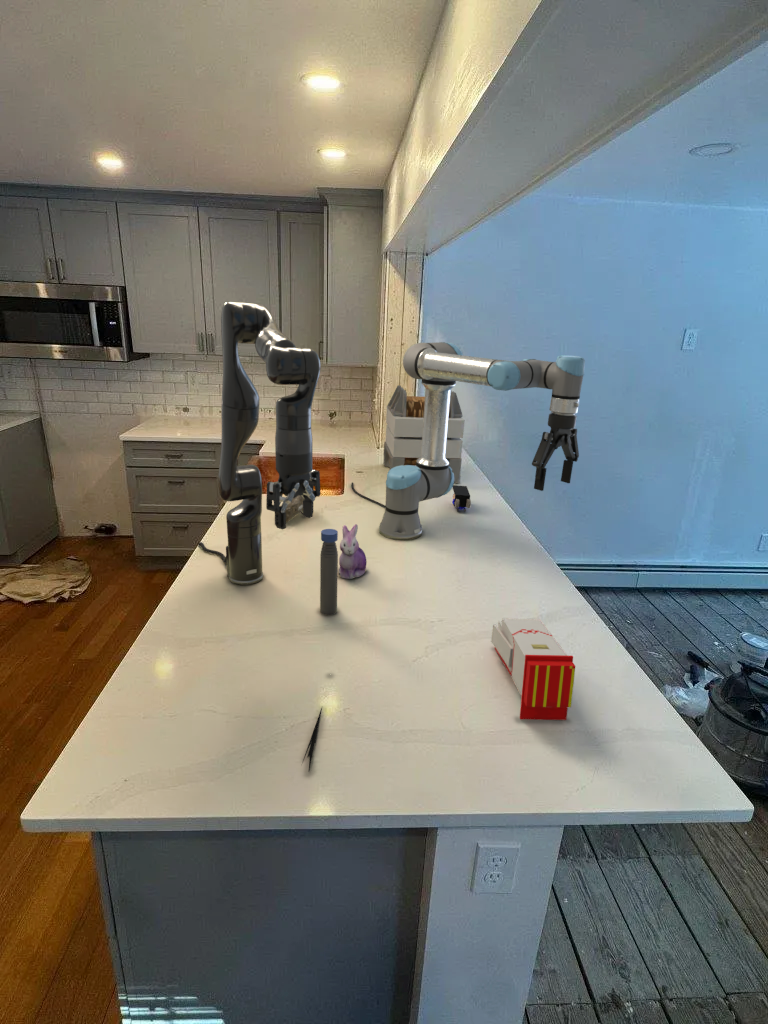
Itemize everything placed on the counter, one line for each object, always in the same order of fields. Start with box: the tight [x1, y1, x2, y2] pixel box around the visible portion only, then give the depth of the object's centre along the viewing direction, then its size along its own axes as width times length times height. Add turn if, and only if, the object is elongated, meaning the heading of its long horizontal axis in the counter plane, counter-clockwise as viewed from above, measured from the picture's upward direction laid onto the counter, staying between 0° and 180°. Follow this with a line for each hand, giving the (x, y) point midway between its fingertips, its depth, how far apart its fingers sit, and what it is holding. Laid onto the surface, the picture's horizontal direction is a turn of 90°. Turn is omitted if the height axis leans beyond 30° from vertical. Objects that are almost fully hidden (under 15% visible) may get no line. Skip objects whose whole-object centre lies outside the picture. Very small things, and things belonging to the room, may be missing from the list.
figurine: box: [338, 523, 368, 580], centre depth 166 cm, size 9×10×15 cm
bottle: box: [319, 541, 339, 616], centre depth 144 cm, size 4×4×22 cm
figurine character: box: [451, 484, 472, 513], centre depth 228 cm, size 7×8×15 cm
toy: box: [490, 617, 576, 721], centre depth 122 cm, size 12×13×30 cm
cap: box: [320, 528, 339, 543], centre depth 140 cm, size 4×4×2 cm
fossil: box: [285, 496, 305, 523], centre depth 211 cm, size 22×10×15 cm
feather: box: [301, 673, 332, 771], centre depth 108 cm, size 2×28×2 cm
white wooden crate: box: [383, 384, 465, 484], centre depth 268 cm, size 34×33×41 cm
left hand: (294, 522), depth 122 cm, fingers open, 8 cm apart
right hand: (552, 485), depth 166 cm, fingers open, 13 cm apart
